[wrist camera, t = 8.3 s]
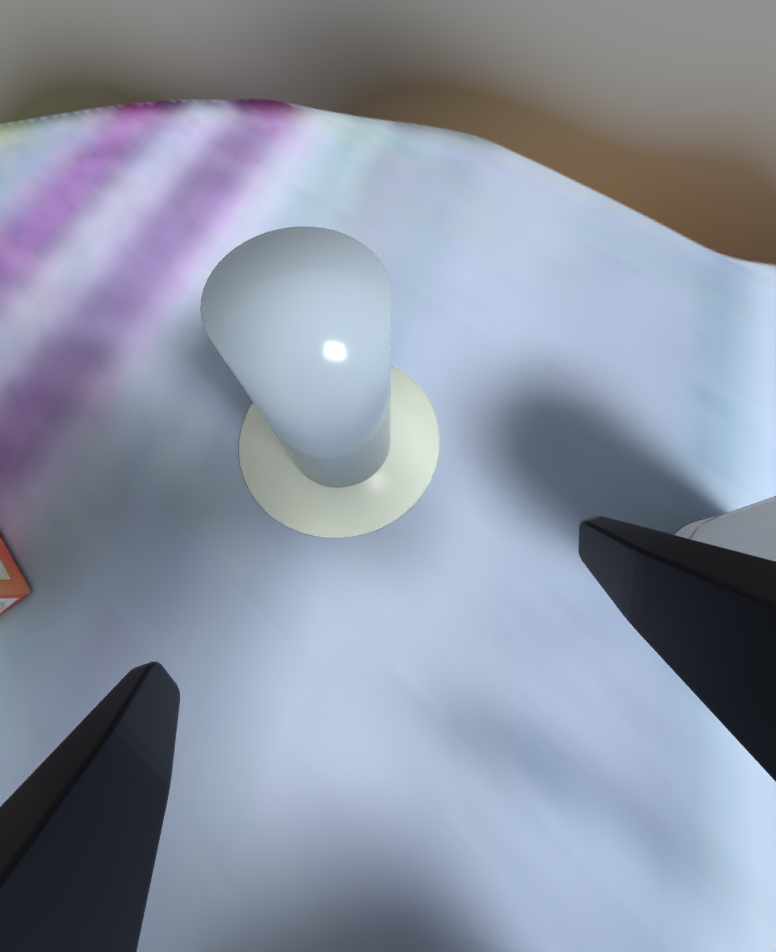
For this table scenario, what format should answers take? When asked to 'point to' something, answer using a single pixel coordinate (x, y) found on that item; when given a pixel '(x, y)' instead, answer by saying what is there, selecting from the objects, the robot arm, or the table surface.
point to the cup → (739, 530)
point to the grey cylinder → (309, 345)
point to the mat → (355, 505)
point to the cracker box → (10, 580)
